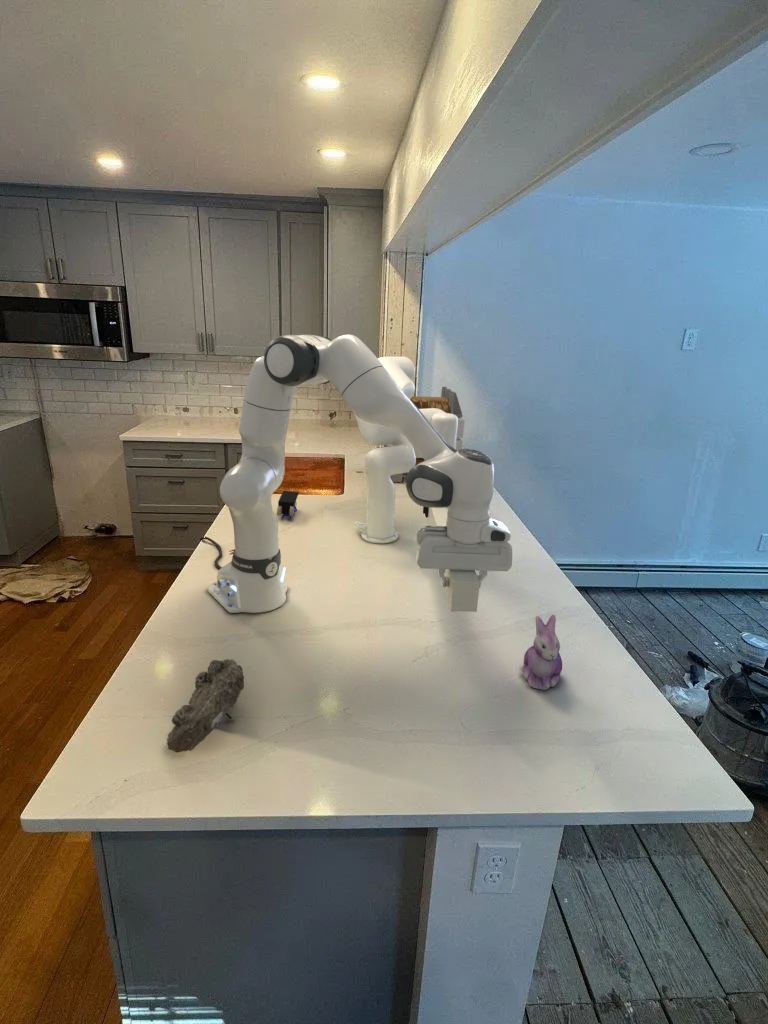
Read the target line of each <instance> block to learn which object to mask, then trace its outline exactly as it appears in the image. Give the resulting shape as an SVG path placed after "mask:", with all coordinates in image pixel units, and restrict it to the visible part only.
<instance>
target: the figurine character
mask: <svg viewBox="0 0 768 1024" xmlns="http://www.w3.org/2000/svg"><path fill="white" fill-rule="evenodd" d="M299 494H300V492H299V491H291V490H283V491H282V492H281V495H280V497H279V499H278V501H277V508H276V515H277V516H281V518H280V520H284V518H288V520H289V521H290V520H291V519H292V517H293V516H295V513H297V512H298V509H297V499H298V496H299Z"/></svg>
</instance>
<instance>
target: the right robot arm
mask: <svg viewBox="0 0 768 1024" xmlns="http://www.w3.org/2000/svg"><path fill="white" fill-rule="evenodd" d="M377 359H378V360H379V361H380V362H381V364H382V365H383V367H384V368H385V369H386V371H387V372H388V374H389V375H390V376H391V378H392V379H393V380H394V382H395V383H396V384H397V385H398V387H399V388H400V389H401V390H402V392H403V393H404V394H405V395H406V396H407V397H408V398H409V399H411V397H412V396H414V394H415V391H416V385H415V383H414V382H413V380H414V378H415V376H416V367H415V364H414V362H413V360H411V359H410V358H409V357H407V356H381V357H377ZM419 410H420V411H421V412H422V413H423V415H424V416H425V417H426V418H427V419H428V421H429V422H430V423H431V424H432V425H433V427H434V428H435V429H436V430H437V432H438V433H439V434H440V435H441V436H442V438H443V439H444V440H445V441H446V442H447V443H448V444H449V445H450V446H451V447H453V448H454V449H456V439H457V429H458V418H457V416H456V415H454V414H450V413H445V412H444V411H442V410H440V409H438V408H427V409H419ZM353 414H354V418H355V420H356V423H357V426H358V430H359V433H360V436H361V439H362V441H363V443H364V444H365V445H367V446H370V447H375V446H380V447H375V448H373V449H371V450H369V451H368V452H367V453H366V455H365V459H364V462H365V463H364V465H365V470H366V480H367V483H366V486H367V488H366V490H367V491H366V519H365V520H366V521H364V522H362V521H355V522H354V527H355V529H356V530H361V534H360V535H361V538H362V539H363V540H364V541H366V542H368V543H373V544H389V543H393V542H395V541H397V540H398V537H399V534H398V532H397V531H396V530H395V528H394V527H395V510H396V509H395V508H396V507H395V506H396V485H395V482H392V480H391V478H390V476H391V475H394V474H401V473H403V474H408V472H409V471H410V470H411V469H412V468H413V467H415V464H416V457H415V452H414V449H413V446H412V444H411V443H410V442H409V440H408V439H407V438H406V437H405V436H404V435H403V434H402V433H401V432H399V431H398V430H396V429H393V428H391V427H388V426H384V425H379V424H373V423H368V422H365V421H363V420H361V419H360V418H359V417H358V416H357V415H356V414H355V413H354V412H353ZM386 444H390V445H391V446H387V447H384V445H386ZM428 512H429V507H423V506H422V514H424V516H425V518H426V517H428Z"/></svg>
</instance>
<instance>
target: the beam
mask: <svg viewBox="0 0 768 1024" xmlns="http://www.w3.org/2000/svg"><path fill="white" fill-rule="evenodd" d="M447 511H448V510H447V508H445V507H444V508H432V507H429V512H428V517H425V518H426V521H427V522H426V523H427V526H434V527H435V526H446V522H447ZM445 532H446V531H445ZM443 574H444V576H445V577H449V587H444V590H445V593H446V597H447V601H448V605H449V609H450V612H461V613H463V612H466V613H477V612H478V603H479V594H480V588H479V586H480V587H481V585H480V582H479V579H478V577H477V576H478V574H477V572H476V570H452V569H445V573H443Z"/></svg>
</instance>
